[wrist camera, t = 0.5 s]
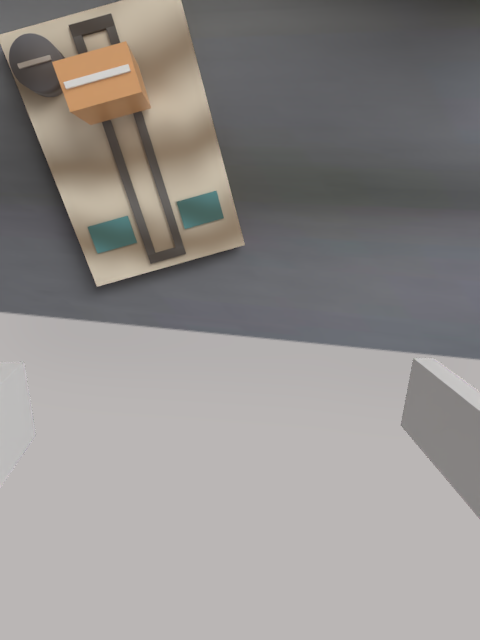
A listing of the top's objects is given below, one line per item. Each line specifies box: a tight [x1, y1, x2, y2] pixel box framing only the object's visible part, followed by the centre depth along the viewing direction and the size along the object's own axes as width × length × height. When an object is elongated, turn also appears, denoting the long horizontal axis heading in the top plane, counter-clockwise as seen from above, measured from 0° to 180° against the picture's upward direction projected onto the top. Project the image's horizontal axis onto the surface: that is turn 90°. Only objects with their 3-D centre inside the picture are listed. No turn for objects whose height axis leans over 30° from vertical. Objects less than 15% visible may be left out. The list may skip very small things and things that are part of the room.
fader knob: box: [52, 41, 151, 125], centre depth 28 cm, size 3×5×5 cm, turn 105°
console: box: [0, 0, 245, 287], centre depth 32 cm, size 20×14×4 cm
